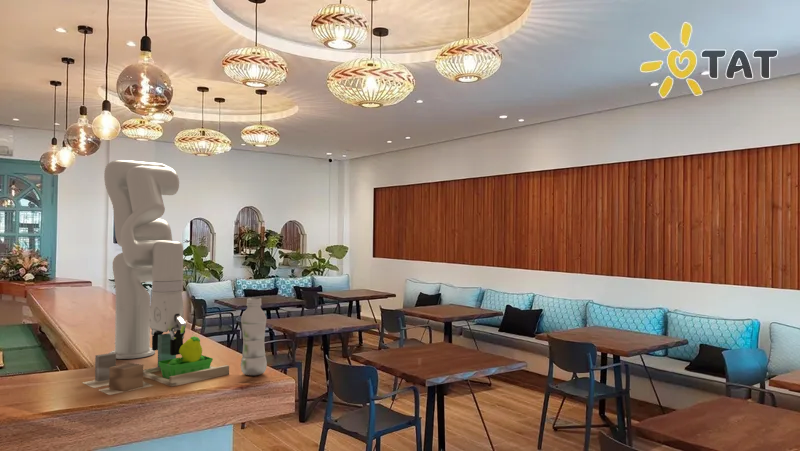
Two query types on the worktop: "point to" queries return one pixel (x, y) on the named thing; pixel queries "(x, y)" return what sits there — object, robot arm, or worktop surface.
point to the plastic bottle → (253, 338)
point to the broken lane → (109, 391)
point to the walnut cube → (125, 377)
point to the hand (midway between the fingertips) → (167, 352)
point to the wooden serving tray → (182, 378)
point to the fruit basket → (186, 360)
